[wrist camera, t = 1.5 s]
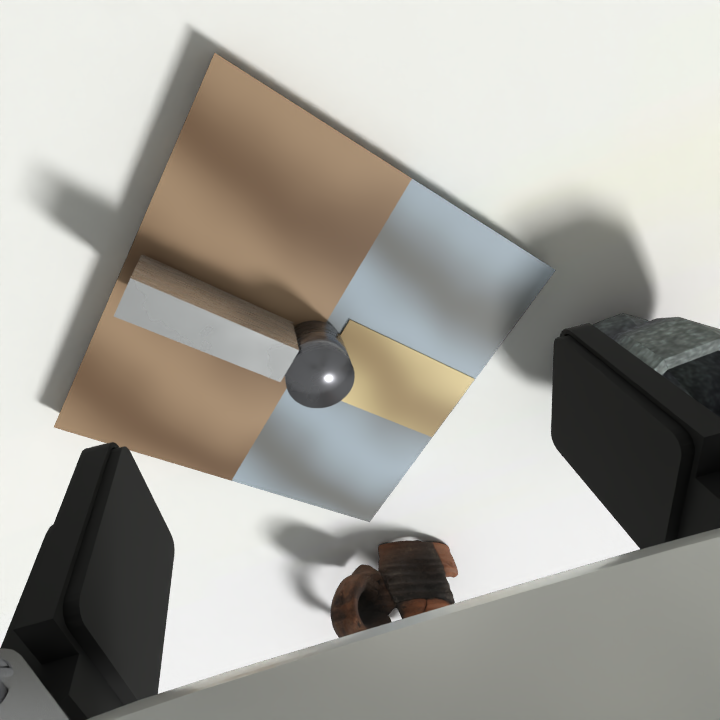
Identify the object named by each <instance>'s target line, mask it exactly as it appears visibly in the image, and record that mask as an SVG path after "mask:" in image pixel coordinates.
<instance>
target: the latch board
mask: <svg viewBox="0 0 720 720" xmlns="http://www.w3.org/2000/svg"><path fill="white" fill-rule="evenodd" d="M142 254H143V255H145V256H147V257H149V258H152V259H154V260H156V261H158V262H160V263H163V264H165V265H167V266H169V267H171V268H174V269H176V270H178V271H180V272H183V273H185V274H187V275H189V276H191V277H194V278H196V279H198V280H200V281H203V282H205V283H207V284H209V285H211V286H214V287H216V288H218V289H220V290H223V291H225V292H227V293H229V294H231V295H234V296H236V297H238V298H240V299H243V300H245V301H247V302H249V303H251V304H254V305H256V306H258V307H260V308H263V309H265V310H267V311H269V312H271V313H274V314H276V315H278V316H280V317H282V318H285V319H287V320H289V321H291V322H293V325H294V326H296V325H298V324H300V323H302V322H306V321H322V322H325V323H328V324H330V325H332V326H333V327H334V328H335V329H336V330H337V331H338V332H339V333H340V335H341V337H342V340H343V342H344V345H345V347H346V350H347V353H348V355H349V358H350V360H351V363H352V365H353V368H354V372H355V379H354V384H353V386H352V389H351V390H350V392H349V393H348V395H347V396H346V397H345V398H344V399H343V400H341V401H340V402H338V403H336V404H335V405H332V406H329V407H326V408H309V407H306V406H303V405H301V404H299V403H297V402H296V401H295V400H294V399H293V398H292V397H291V396H290V394H289V393H288V390H287V387H286V382H285V376H284V377H283V379H282V380H281V382H278V381H276V380H273V379H271V378H268V377H266V376H263V375H261V374H258V373H256V372H253V371H251V370H248V369H245V368H243V367H240V366H238V365H235V364H233V363H230V362H228V361H225V360H223V359H220V358H218V357H215V356H213V355H210V354H208V353H205V352H202V351H200V350H197V349H195V348H192V347H190V346H187V345H185V344H182V343H180V342H177V341H175V340H172V339H170V338H167V337H164V336H162V335H159V334H157V333H154V332H152V331H149V330H147V329H144V328H142V327H139V326H137V325H134V324H132V323H129V322H126V321H124V320H121V319H119V318H116V317H114V314H115V312H116V310H117V307H118V305H119V303H120V301H121V298H122V296H123V294H124V291H125V289H126V287H127V285H128V282H129V280H130V278H131V276H132V274H133V271H134V269H135V267H136V265H137V263H138V261H139V259H140V257H141V255H142ZM555 271H556V270H555V269H553V268H552V267H550V266H549V265H547V264H546V263H544V262H542V261H541V260H539V259H538V258H536V257H535V256H533V255H531V254H530V253H528V252H527V251H525V250H524V249H522V248H520V247H519V246H517V245H516V244H514V243H513V242H511V241H509V240H508V239H506V238H505V237H503V236H502V235H500V234H498V233H497V232H495V231H494V230H492V229H491V228H489V227H488V226H486V225H484V224H483V223H481V222H480V221H478V220H477V219H475V218H473V217H472V216H470V215H469V214H467V213H466V212H464V211H462V210H461V209H459V208H458V207H456V206H455V205H453V204H451V203H450V202H448V201H447V200H445V199H444V198H442V197H440V196H439V195H437V194H436V193H434V192H433V191H431V190H429V189H428V188H426V187H425V186H423V185H422V184H420V183H418V182H417V181H415V180H414V179H412V178H411V177H409V176H408V175H406V174H404V173H403V172H401V171H400V170H398V169H397V168H395V167H393V166H392V165H390V164H389V163H387V162H386V161H384V160H382V159H381V158H379V157H378V156H376V155H375V154H373V153H371V152H370V151H368V150H367V149H365V148H364V147H362V146H360V145H359V144H357V143H356V142H354V141H353V140H351V139H349V138H348V137H346V136H345V135H343V134H342V133H340V132H339V131H337V130H335V129H334V128H332V127H331V126H329V125H328V124H326V123H324V122H323V121H321V120H320V119H318V118H317V117H315V116H313V115H312V114H310V113H309V112H307V111H306V110H304V109H302V108H301V107H299V106H298V105H296V104H295V103H293V102H291V101H290V100H288V99H287V98H285V97H284V96H282V95H280V94H279V93H277V92H276V91H274V90H273V89H271V88H269V87H268V86H266V85H265V84H263V83H262V82H260V81H259V80H257V79H255V78H254V77H252V76H251V75H249V74H248V73H246V72H244V71H243V70H241V69H240V68H238V67H237V66H235V65H233V64H232V63H230V62H229V61H227V60H226V59H224V58H222V57H221V56H219V55H218V54H216V53H214V55H213V58H212V60H211V62H210V65H209V67H208V69H207V72H206V74H205V76H204V79H203V81H202V83H201V86H200V88H199V90H198V93H197V95H196V97H195V100H194V102H193V104H192V107H191V109H190V111H189V114H188V116H187V118H186V121H185V123H184V125H183V128H182V130H181V132H180V135H179V137H178V139H177V142H176V144H175V146H174V149H173V151H172V153H171V156H170V158H169V160H168V162H167V165H166V167H165V169H164V172H163V174H162V176H161V179H160V181H159V183H158V186H157V188H156V190H155V193H154V195H153V197H152V200H151V202H150V204H149V207H148V209H147V211H146V214H145V216H144V218H143V221H142V223H141V225H140V228H139V230H138V232H137V235H136V237H135V239H134V242H133V244H132V246H131V249H130V251H129V253H128V256H127V258H126V260H125V263H124V265H123V267H122V270H121V272H120V274H119V277H118V279H117V281H116V284H115V286H114V288H113V290H112V293H111V295H110V297H109V300H108V302H107V304H106V307H105V309H104V311H103V314H102V316H101V318H100V321H99V323H98V325H97V328H96V330H95V332H94V335H93V337H92V339H91V342H90V344H89V346H88V349H87V351H86V353H85V356H84V358H83V360H82V363H81V365H80V367H79V370H78V372H77V374H76V377H75V379H74V381H73V384H72V386H71V388H70V391H69V393H68V395H67V398H66V400H65V402H64V405H63V407H62V409H61V412H60V414H59V416H58V419H57V421H56V423H55V425H54V427H55V428H58V429H61V430H65V431H68V432H71V433H75V434H78V435H81V436H85V437H88V438H91V439H95V440H98V441H101V442H105V443H111V442H114V443H116V444H117V445H118V446H119V447H124V446H125V447H127V448H128V449H129V450H131V451H135V452H138V453H141V454H145V455H148V456H151V457H155V458H158V459H161V460H165V461H168V462H171V463H175V464H178V465H181V466H185V467H188V468H191V469H195V470H198V471H201V472H205V473H208V474H211V475H215V476H218V477H221V478H225V479H228V480H231V481H235V482H238V483H241V484H245V485H248V486H251V487H255V488H258V489H261V490H265V491H268V492H271V493H275V494H278V495H281V496H285V497H288V498H291V499H295V500H298V501H301V502H305V503H308V504H311V505H315V506H318V507H321V508H325V509H328V510H331V511H335V512H338V513H341V514H345V515H348V516H351V517H355V518H358V519H361V520H365V521H368V522H370V521H371V519H372V518H373V517H374V515H375V514H376V513H377V511H378V510H379V509H380V507H381V506H382V505H383V503H384V502H385V500H386V499H387V498H388V496H389V495H390V494H391V492H392V491H393V490H394V488H395V487H396V486H397V484H398V483H399V482H400V480H401V479H402V477H403V476H404V475H405V473H406V472H407V471H408V469H409V468H410V467H411V465H412V464H413V463H414V461H415V460H416V459H417V457H418V456H419V455H420V453H421V452H422V450H423V449H424V448H425V446H426V445H427V444H428V442H429V441H430V440H431V438H432V437H433V436H434V434H435V433H436V432H437V430H438V429H439V427H440V426H441V425H442V423H443V422H444V421H445V419H446V418H447V417H448V415H449V414H450V413H451V411H452V410H453V409H454V407H455V406H456V404H457V403H458V402H459V400H460V399H461V398H462V396H463V395H464V394H465V392H466V391H467V390H468V388H469V387H470V386H471V384H472V383H473V381H474V380H475V379H476V377H477V376H478V375H479V373H480V372H481V371H482V369H483V368H484V367H485V365H486V364H487V363H488V361H489V360H490V358H491V357H492V356H493V354H494V353H495V352H496V350H497V349H498V348H499V346H500V345H501V344H502V342H503V341H504V340H505V338H506V337H507V335H508V334H509V333H510V331H511V330H512V329H513V327H514V326H515V325H516V323H517V322H518V321H519V319H520V318H521V317H522V315H523V314H524V312H525V311H526V310H527V308H528V307H529V306H530V304H531V303H532V302H533V300H534V299H535V298H536V296H537V295H538V294H539V292H540V291H541V289H542V288H543V287H544V285H545V284H546V283H547V281H548V280H549V279H550V277H551V276H552V275H553V273H554V272H555Z"/></svg>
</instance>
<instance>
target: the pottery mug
mask: <svg viewBox="0 0 720 720" xmlns="http://www.w3.org/2000/svg"><path fill="white" fill-rule="evenodd" d="M378 552H379V558H380V559H379V571H377V570H375V569H374V568H372V567H371V566H369V565H360V566H359V567H358V568H357V569H356V570H355V571H354V572H353V574H352V575H350V576H348V577H346V578H345V579H344V580H343V581H342V582H341V583H340V585H339V586H338V588H337V590H336V592H335V595H334V597H333V600H332V605H331V620H332V625H333V628H334V630H335V632H336V634H337V635H338V637H339V638H341V637H344V636H347V635H351V634H354V633H357V632H361V631H364V630H367V629H371V628H374V627H378V626H381V625H384V624H388V623H391V619H390V618H389V616H388V615H389V613H390V612H391V611H392V610H393V609H394V608H397V609H398V610H399V612H400V615H401V617H402V619H404V618H408V617H411V616H414V615H418V614H421V613H425V612H428V611H431V610H435V609H438V608H441V607H445V606H448V605H452V604H454V603H455V602H454V599H453V594H452V592H451V590H450V586H449V583H448V581H447V579H446V577H456V576H457V575H458V570H457V567H456V564H455V562H454V559H453V557H452V555H451V553H450V550H449V547H448V546H447V545H445V544H442V543H435V542H422V541H419V540H416V541H398V542H391V543H386V544H381V545H379V547H378Z"/></svg>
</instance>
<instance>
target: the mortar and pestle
mask: <svg viewBox="0 0 720 720" xmlns="http://www.w3.org/2000/svg"><path fill="white" fill-rule="evenodd" d="M593 325H594V326H595V327H596V328H598V329H599V330H600V331H602V332H603V333H605V334H606V335H607V336H609V337H610V338H611V339H613V340H614V341H616V342H617V343H618V344H620V345H621V346H622V347H624V348H625V349H626V350H628V351H629V352H631V353H632V354H633V355H635V356H636V357H637V358H639V359H640V360H642V361H643V362H644V363H646V364H647V365H648V366H650V367H651V368H653V369H654V370H655V371H657V372H658V373H659V374H661V375H662V376H663V377H665V378H666V379H668V380H669V381H670V382H672V383H673V384H674V385H676V386H677V387H679V388H680V389H681V390H683V391H684V392H685V393H687V394H688V395H689V396H691V397H692V398H694V399H695V400H696V401H698V402H699V403H700V404H702V405H703V406H705V407H706V408H707V409H709V410H710V411H711V412H713V413H714V414H715V415H717V416H718V417H720V329H717V328H714V327H711V326H707V325H704V324H700V323H697V322H694V321H690V320H687V319H684V318H680V317H672V318H657V319H654V320H652V321H648V320H645V319H641V318H638V317H634V316H631V315H627V314H624V313H622V314H620V315H617V316H614V317H612V318H609V319H606V320H604V321H601V322H598V323H596V324H593Z"/></svg>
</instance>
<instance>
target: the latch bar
mask: <svg viewBox="0 0 720 720" xmlns="http://www.w3.org/2000/svg"><path fill="white" fill-rule="evenodd" d="M114 317H116V318H119V319H121V320H124V321H126V322H129V323H132V324H134V325H137V326H139V327H142V328H144V329H147V330H149V331H152V332H154V333H157V334H159V335H162V336H164V337H167V338H170V339H172V340H175V341H177V342H180V343H182V344H185V345H187V346H190V347H192V348H195V349H197V350H200V351H202V352H205V353H208V354H210V355H213V356H215V357H218V358H220V359H223V360H225V361H228V362H230V363H233V364H235V365H238V366H240V367H243V368H245V369H248V370H251V371H253V372H256V373H258V374H261V375H263V376H266V377H268V378H271V379H273V380H276V381H278V382H281V380H282V379H283V377H284V376H285V382H286V387H287V390H288V393H289V394H290V396H291V397H292V398H293V399H294V400H295V401H296V402H297V403H299V404H301V405H303V406H306V407H309V408H326V407H329V406H332V405H335V404H336V403H338V402H340V401H341V400H343V399H344V398H345V397H346V396H347V395H348V393H349V392H350V390H351V389H352V386H353V384H354V379H355V372H354V368H353V365H352V363H351V360H350V358H349V355H348V353H347V350H346V347H345V345H344V342H343V340H342V337H341V335H340V333H339V332H338V331H337V330H336V329H335V328H334V327H333V326H332V325H330V324H328V323H325V322H322V321H306V322H302V323H300V324H298V325H296V326H294V325H293V322H291V321H289V320H287V319H285V318H282V317H280V316H278V315H276V314H274V313H271V312H269V311H267V310H265V309H263V308H260V307H258V306H256V305H254V304H251V303H249V302H247V301H245V300H243V299H240V298H238V297H236V296H234V295H231V294H229V293H227V292H225V291H223V290H220V289H218V288H216V287H214V286H211V285H209V284H207V283H205V282H203V281H200V280H198V279H196V278H194V277H191V276H189V275H187V274H185V273H183V272H180V271H178V270H176V269H174V268H171V267H169V266H167V265H165V264H163V263H160V262H158V261H156V260H154V259H152V258H149V257H147V256H145V255H143V254H142V255H141V257H140V259H139V261H138V263H137V265H136V267H135V269H134V271H133V274H132V276H131V278H130V280H129V282H128V285H127V287H126V289H125V291H124V294H123V296H122V298H121V301H120V303H119V305H118V307H117V310H116V312H115V314H114Z"/></svg>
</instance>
